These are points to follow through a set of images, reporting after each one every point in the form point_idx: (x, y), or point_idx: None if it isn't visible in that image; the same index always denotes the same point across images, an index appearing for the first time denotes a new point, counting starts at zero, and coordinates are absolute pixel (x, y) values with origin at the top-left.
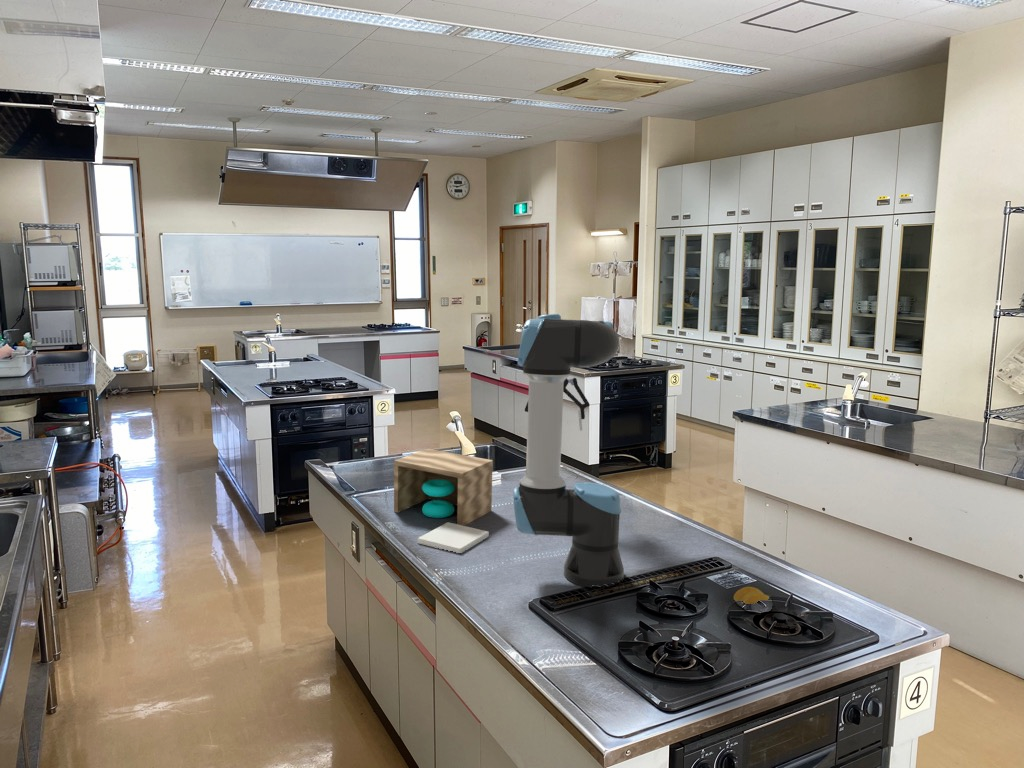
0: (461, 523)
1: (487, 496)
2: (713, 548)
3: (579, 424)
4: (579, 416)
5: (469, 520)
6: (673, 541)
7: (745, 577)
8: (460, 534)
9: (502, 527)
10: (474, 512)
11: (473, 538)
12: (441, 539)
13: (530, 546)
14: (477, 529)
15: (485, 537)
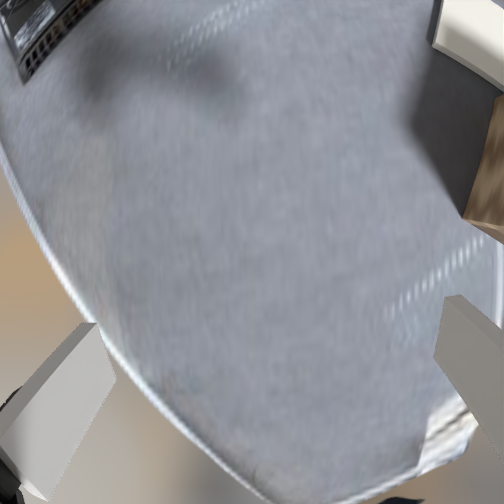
0: (499, 96)
1: (490, 199)
2: (20, 114)
3: (72, 349)
4: (29, 392)
5: (492, 125)
6: (58, 118)
7: (20, 38)
8: (477, 31)
9: (419, 100)
10: (494, 142)
11: (448, 10)
12: (493, 13)
13: (332, 6)
14: (459, 54)
15: (434, 37)
